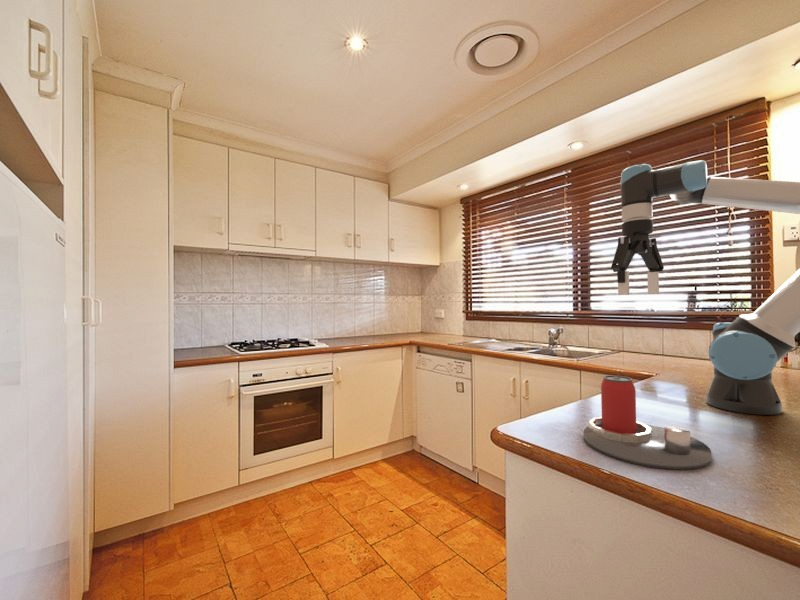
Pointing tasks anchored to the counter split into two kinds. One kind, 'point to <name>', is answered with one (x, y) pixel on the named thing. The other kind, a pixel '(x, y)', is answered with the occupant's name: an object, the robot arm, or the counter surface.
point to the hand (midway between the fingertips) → (639, 294)
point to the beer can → (618, 404)
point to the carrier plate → (650, 446)
